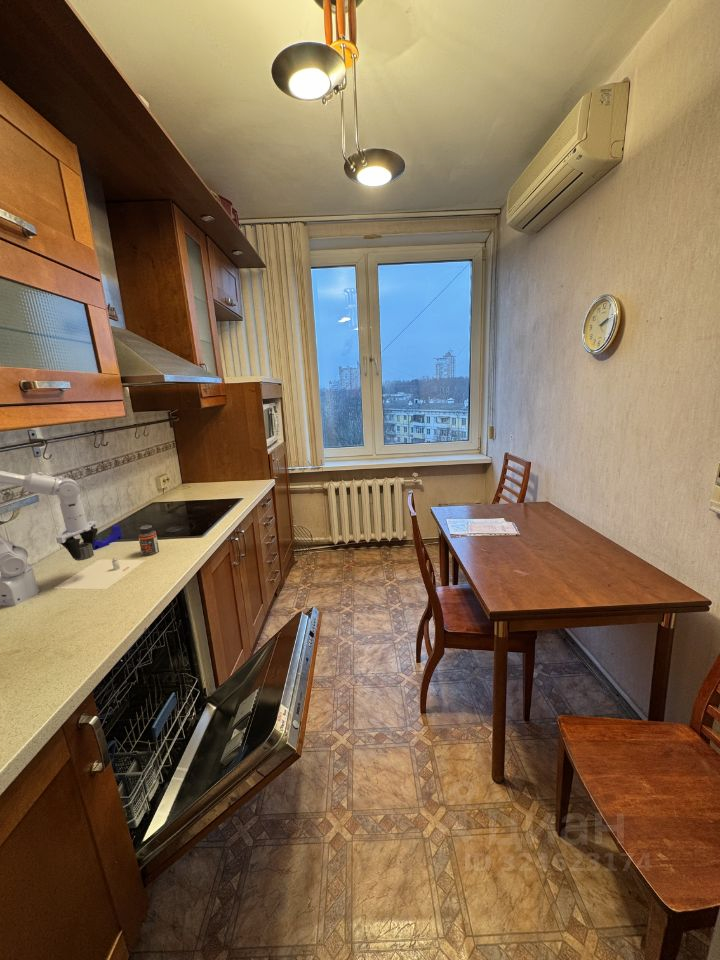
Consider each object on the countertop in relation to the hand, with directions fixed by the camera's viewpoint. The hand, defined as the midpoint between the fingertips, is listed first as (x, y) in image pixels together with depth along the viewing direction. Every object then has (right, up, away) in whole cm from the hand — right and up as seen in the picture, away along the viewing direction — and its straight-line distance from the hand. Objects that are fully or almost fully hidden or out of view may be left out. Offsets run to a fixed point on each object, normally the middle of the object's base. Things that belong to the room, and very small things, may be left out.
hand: (83, 554), depth 125 cm
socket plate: (+4, -8, +4) cm, 10 cm away
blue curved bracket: (-13, -2, +31) cm, 33 cm away
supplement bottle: (+12, -4, +19) cm, 23 cm away
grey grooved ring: (0, -1, 0) cm, 1 cm away
